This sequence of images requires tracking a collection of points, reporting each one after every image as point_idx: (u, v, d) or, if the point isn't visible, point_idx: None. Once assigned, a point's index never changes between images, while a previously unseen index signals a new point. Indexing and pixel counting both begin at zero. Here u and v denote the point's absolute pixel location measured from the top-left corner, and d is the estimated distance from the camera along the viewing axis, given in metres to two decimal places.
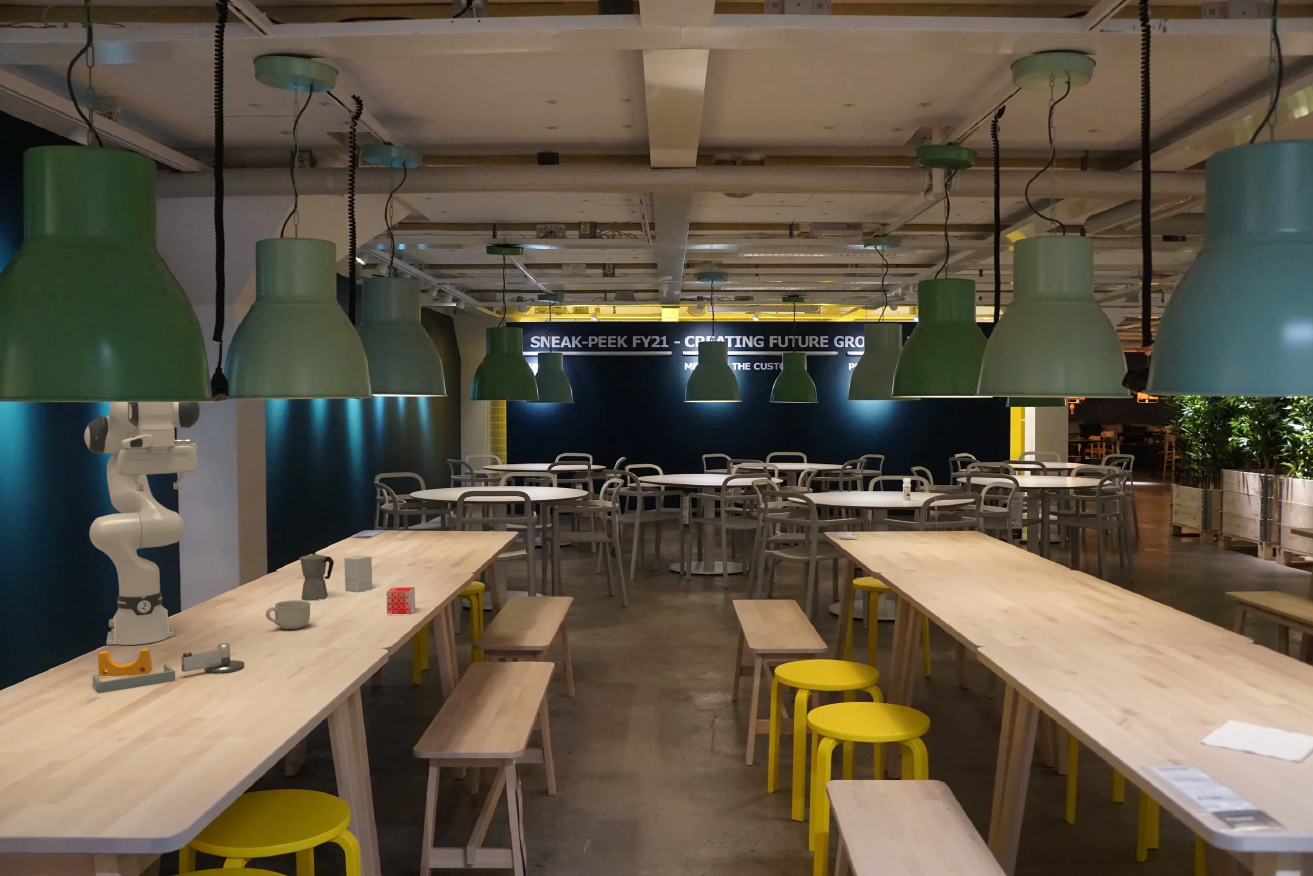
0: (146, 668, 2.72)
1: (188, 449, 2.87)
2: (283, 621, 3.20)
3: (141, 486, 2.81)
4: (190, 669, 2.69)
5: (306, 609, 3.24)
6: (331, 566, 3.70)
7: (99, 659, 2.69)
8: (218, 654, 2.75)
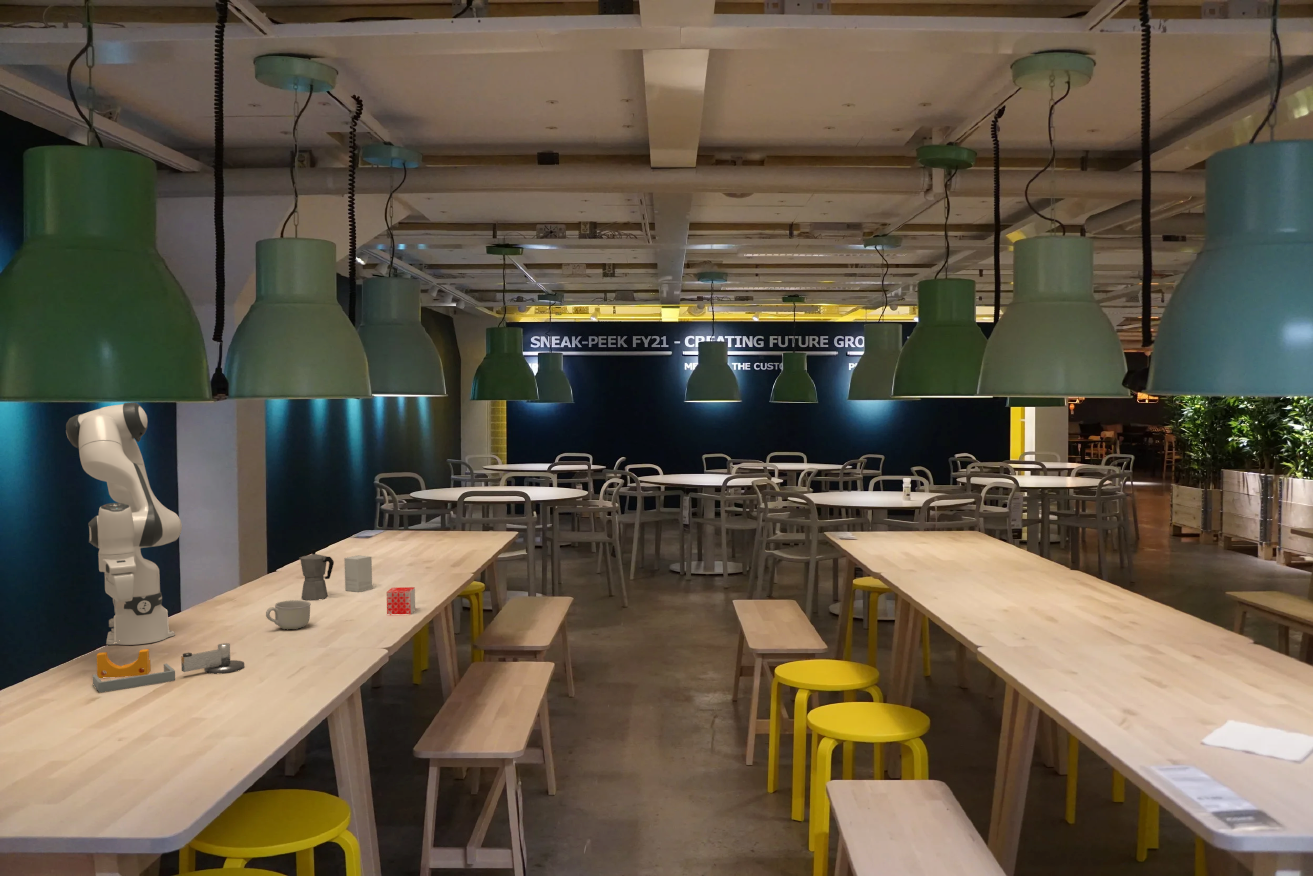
0: (145, 669, 2.71)
1: None
2: (283, 621, 3.20)
3: None
4: (190, 669, 2.69)
5: (306, 609, 3.24)
6: (331, 566, 3.70)
7: (98, 660, 2.68)
8: (218, 654, 2.75)
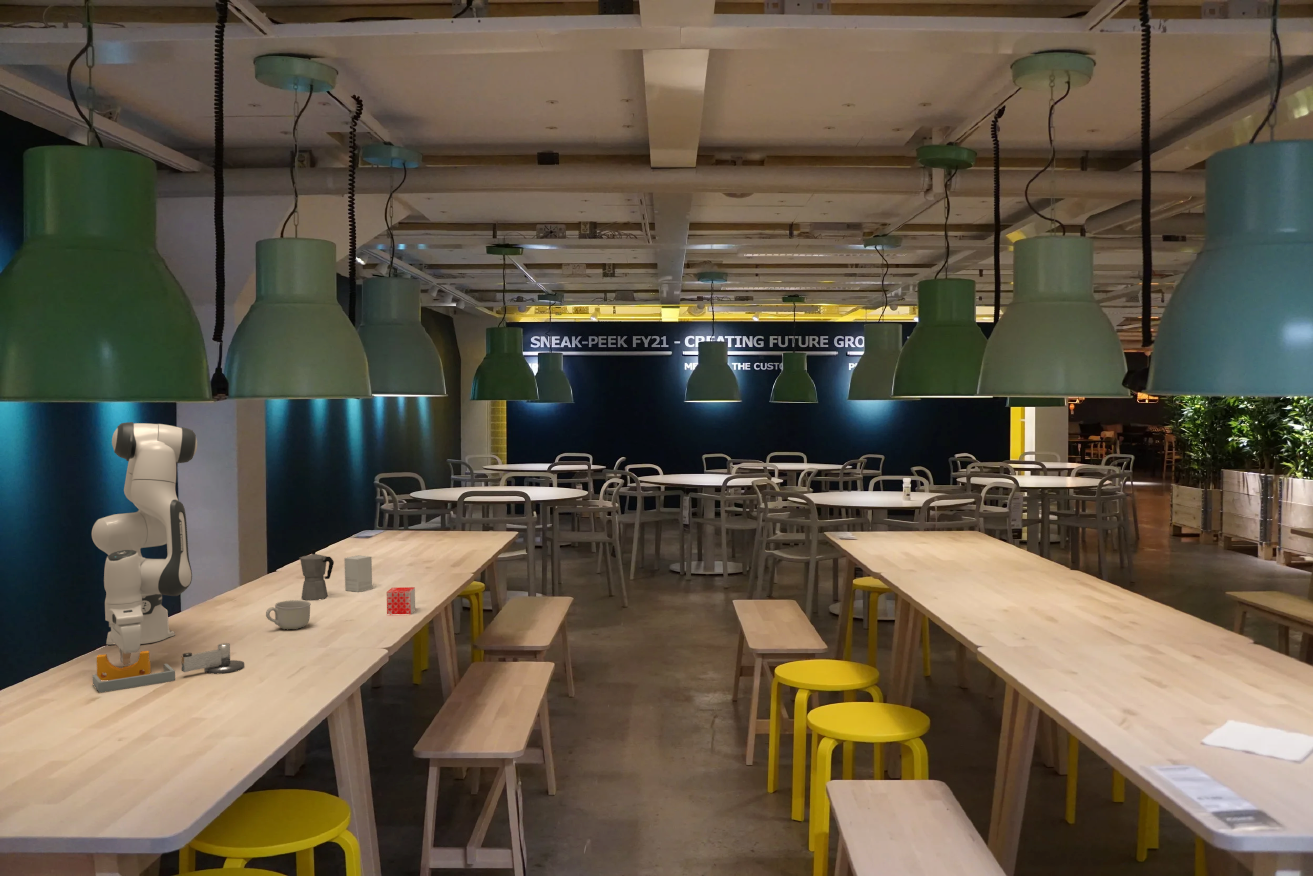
0: (146, 671, 2.69)
1: None
2: (283, 621, 3.20)
3: (129, 658, 2.73)
4: (190, 669, 2.69)
5: (306, 609, 3.24)
6: (331, 566, 3.70)
7: (98, 662, 2.66)
8: (218, 654, 2.75)
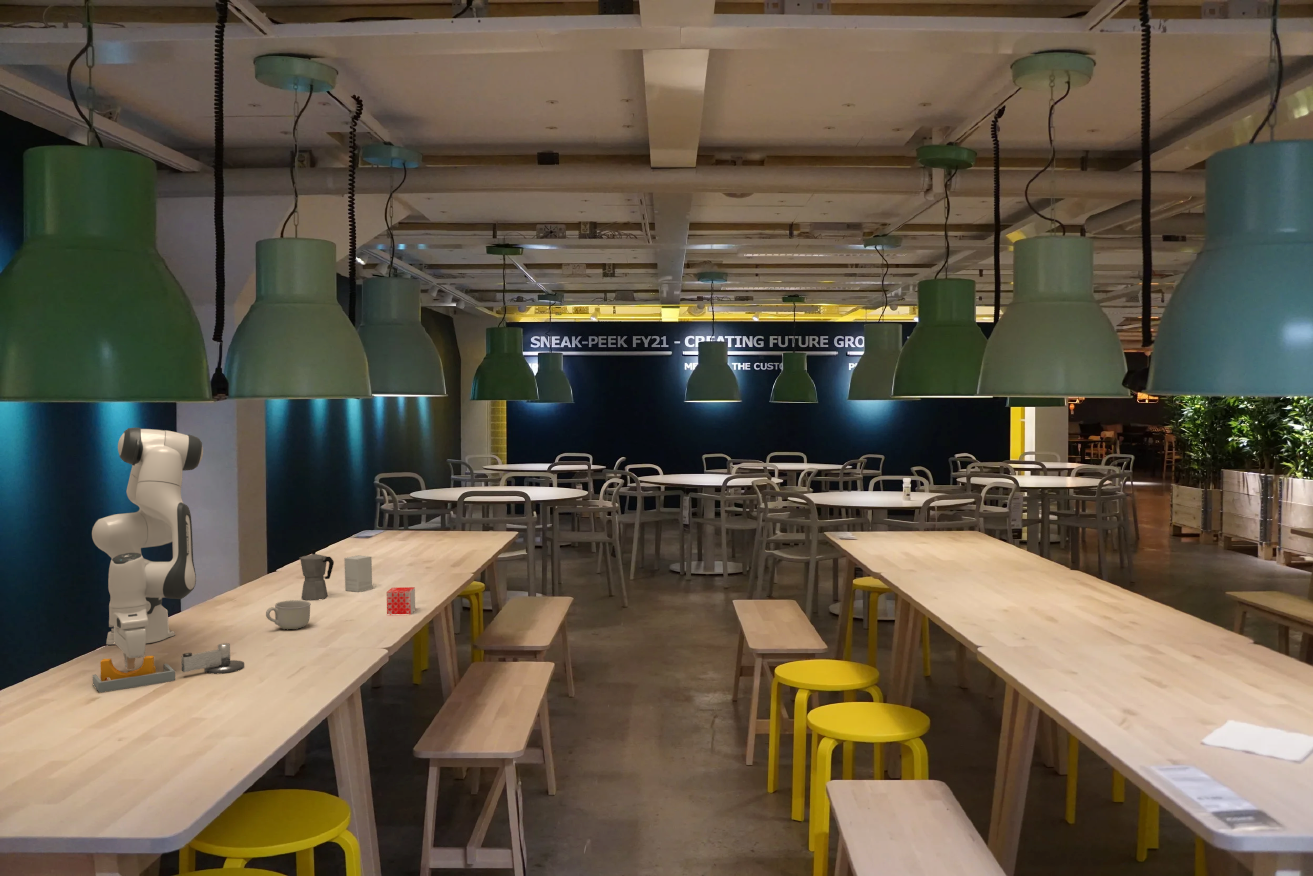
0: None
1: None
2: (283, 621, 3.20)
3: None
4: (190, 669, 2.69)
5: (306, 609, 3.24)
6: (331, 566, 3.70)
7: (101, 667, 2.61)
8: (218, 654, 2.75)
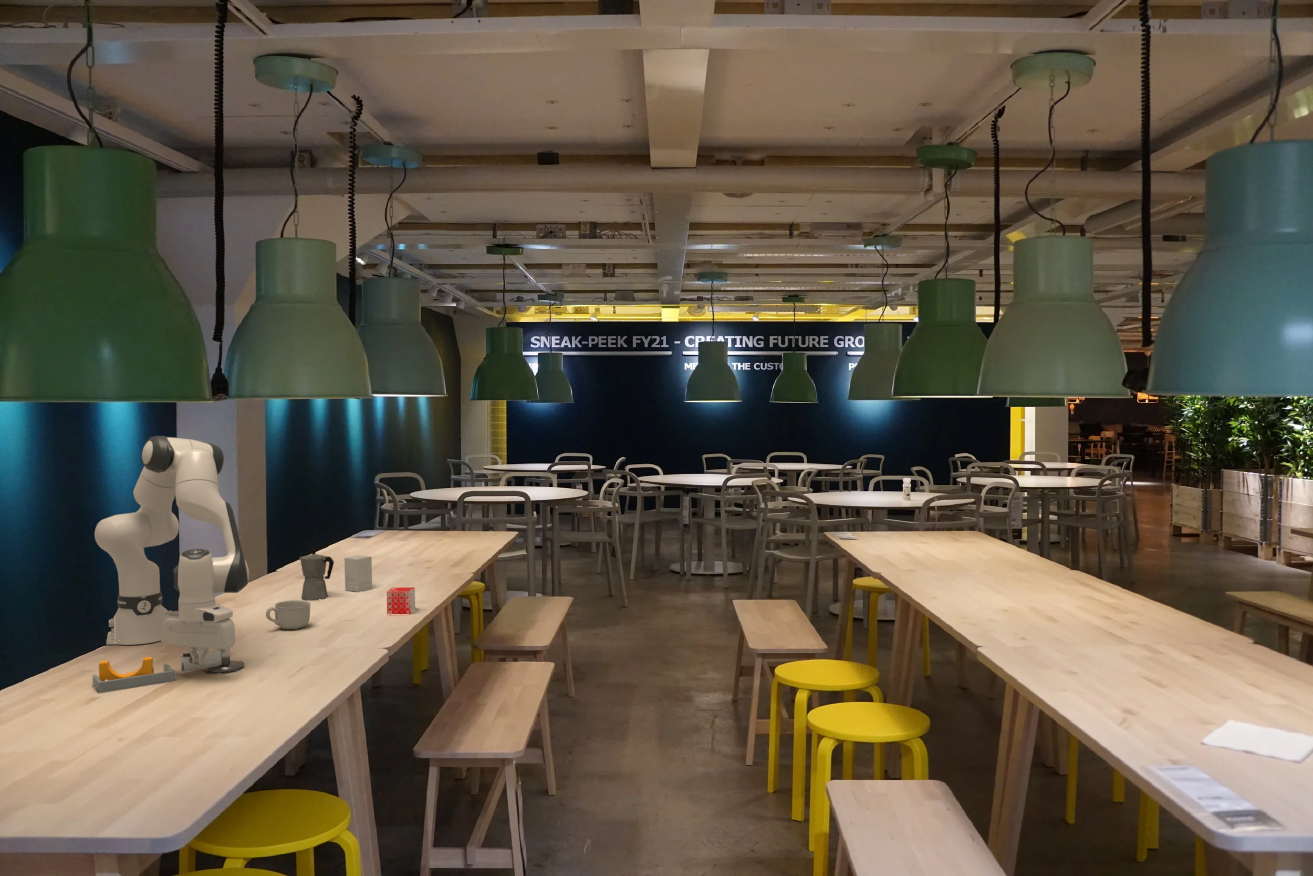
0: None
1: None
2: (283, 621, 3.20)
3: None
4: (190, 669, 2.69)
5: (306, 609, 3.24)
6: (331, 566, 3.70)
7: (100, 669, 2.59)
8: (218, 654, 2.75)
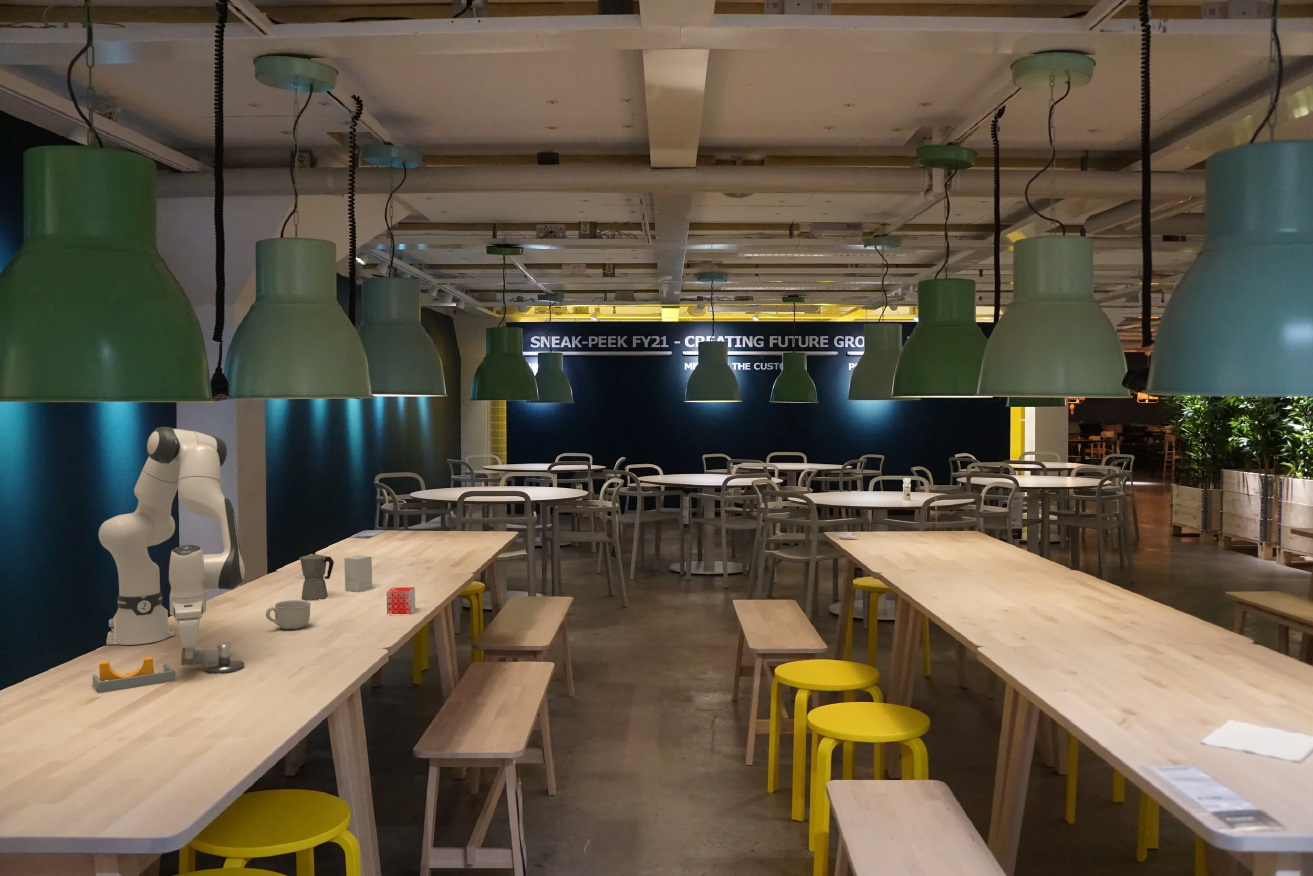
0: None
1: None
2: (283, 621, 3.20)
3: (192, 652, 2.74)
4: (187, 663, 2.76)
5: (306, 609, 3.24)
6: (331, 566, 3.70)
7: (100, 669, 2.59)
8: (215, 653, 2.76)
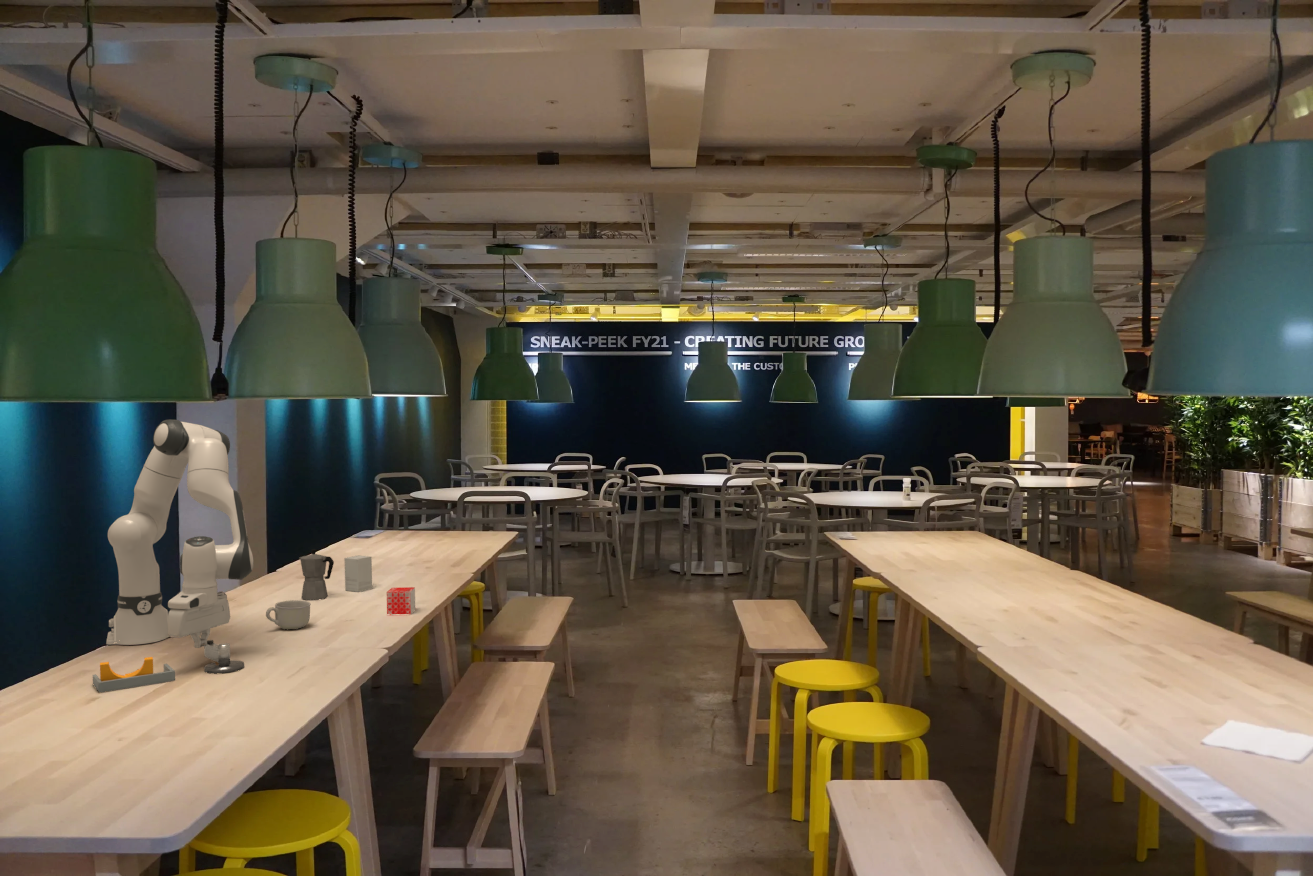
0: None
1: (225, 601, 2.87)
2: (283, 621, 3.20)
3: (201, 642, 2.80)
4: (206, 656, 2.83)
5: (306, 609, 3.24)
6: (331, 566, 3.70)
7: (101, 670, 2.58)
8: (217, 651, 2.77)
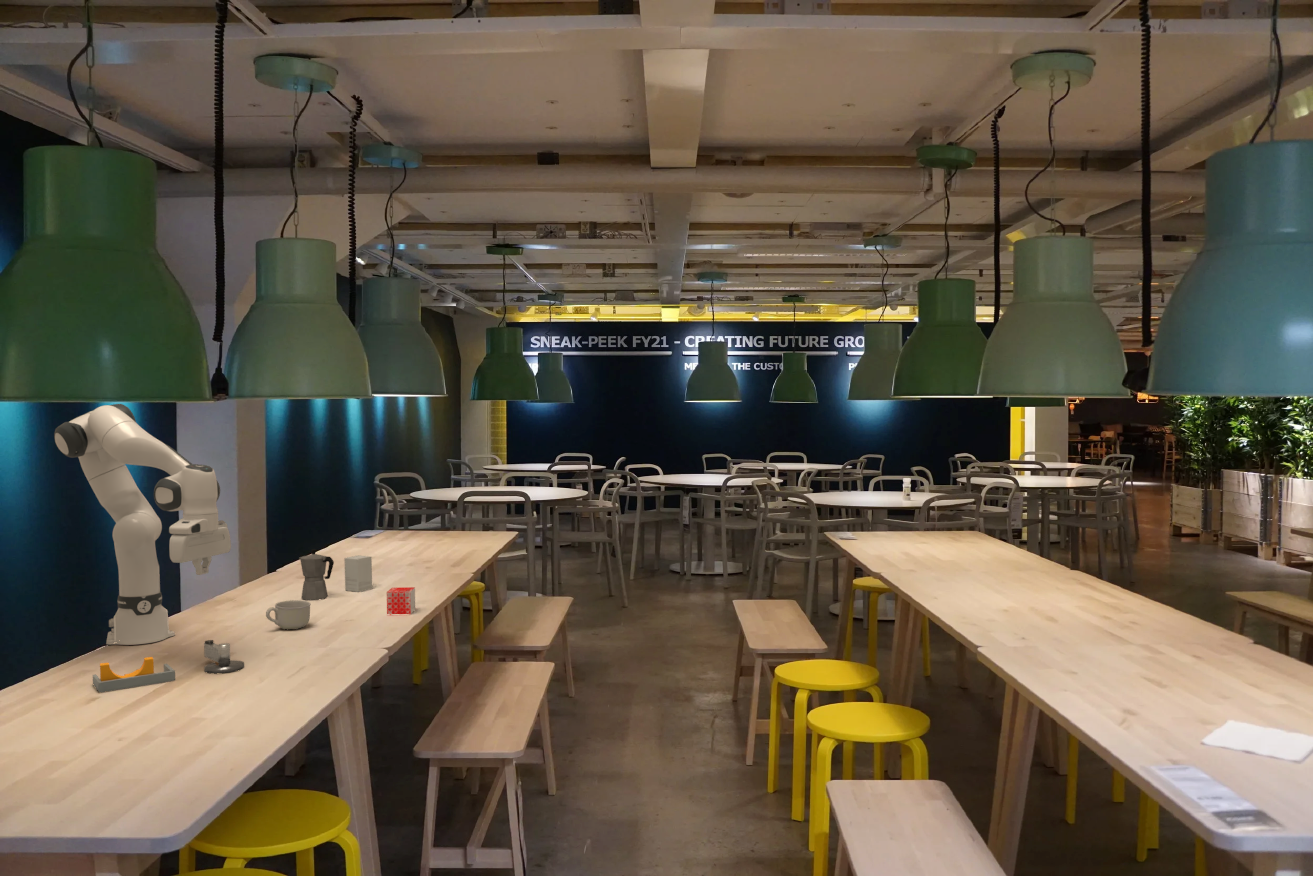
0: None
1: (225, 529, 2.87)
2: (283, 621, 3.20)
3: (203, 569, 2.79)
4: (206, 656, 2.83)
5: (306, 609, 3.24)
6: (331, 566, 3.70)
7: (102, 671, 2.57)
8: (217, 651, 2.77)
